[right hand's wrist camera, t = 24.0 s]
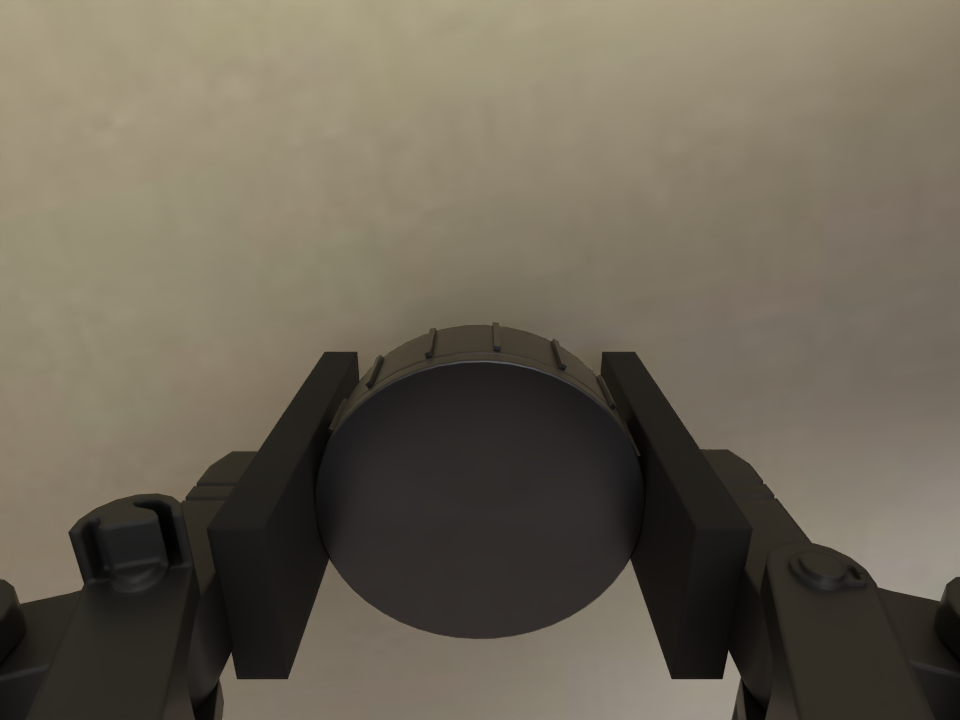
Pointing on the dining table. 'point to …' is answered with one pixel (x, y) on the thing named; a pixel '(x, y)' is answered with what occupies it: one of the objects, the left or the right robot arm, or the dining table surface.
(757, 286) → the dining table surface
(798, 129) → the dining table surface
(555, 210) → the dining table surface
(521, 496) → the lid
